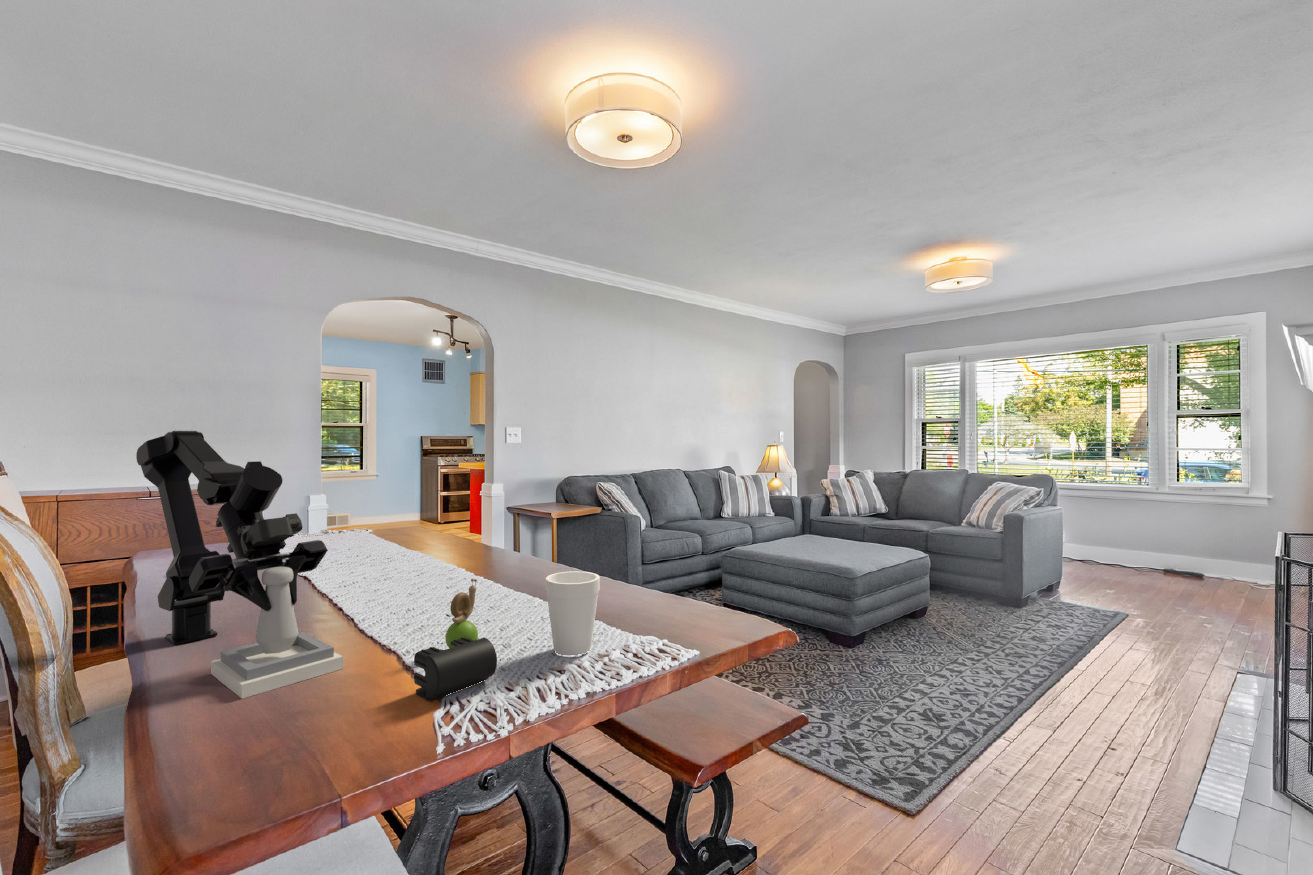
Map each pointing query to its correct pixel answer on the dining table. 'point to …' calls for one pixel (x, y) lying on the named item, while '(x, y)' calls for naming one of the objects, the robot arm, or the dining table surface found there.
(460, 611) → the snail figurine
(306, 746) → the dining table surface
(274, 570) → the salt shaker
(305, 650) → the display plinth
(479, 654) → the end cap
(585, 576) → the foam cup
